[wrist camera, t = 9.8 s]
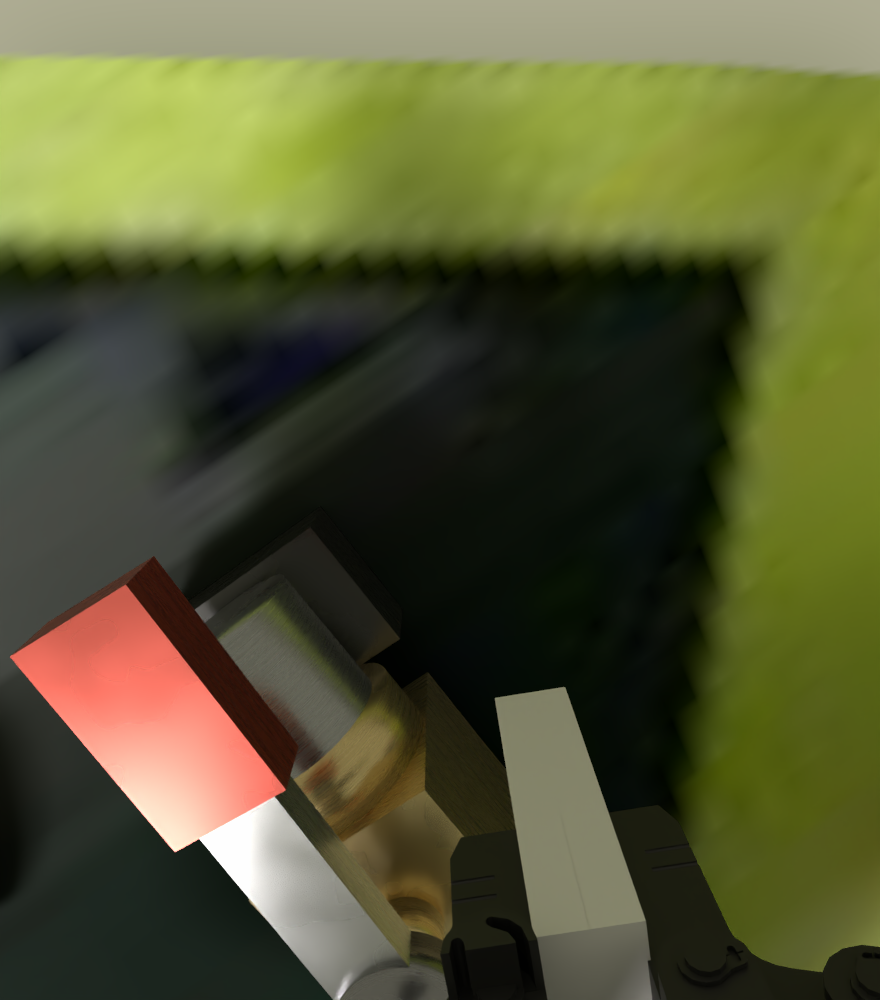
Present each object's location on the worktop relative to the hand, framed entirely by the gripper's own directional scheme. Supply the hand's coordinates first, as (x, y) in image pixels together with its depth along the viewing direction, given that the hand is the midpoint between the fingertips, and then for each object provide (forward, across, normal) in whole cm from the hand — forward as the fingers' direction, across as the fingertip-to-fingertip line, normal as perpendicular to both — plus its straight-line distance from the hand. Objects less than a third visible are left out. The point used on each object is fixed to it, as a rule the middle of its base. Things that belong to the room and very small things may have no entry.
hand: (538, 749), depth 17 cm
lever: (+3, +7, +3) cm, 8 cm away
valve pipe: (+13, +4, +8) cm, 16 cm away
